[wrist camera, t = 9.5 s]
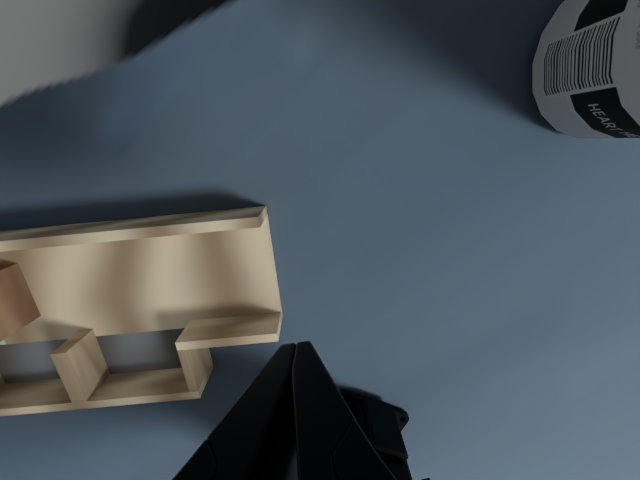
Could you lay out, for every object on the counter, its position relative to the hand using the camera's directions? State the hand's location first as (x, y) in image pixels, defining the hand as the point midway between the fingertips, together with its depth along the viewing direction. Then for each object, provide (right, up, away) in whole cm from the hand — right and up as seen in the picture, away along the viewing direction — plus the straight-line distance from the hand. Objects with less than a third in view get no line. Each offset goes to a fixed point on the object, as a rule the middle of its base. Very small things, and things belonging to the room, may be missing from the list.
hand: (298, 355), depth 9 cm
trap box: (-14, -1, +13) cm, 19 cm away
